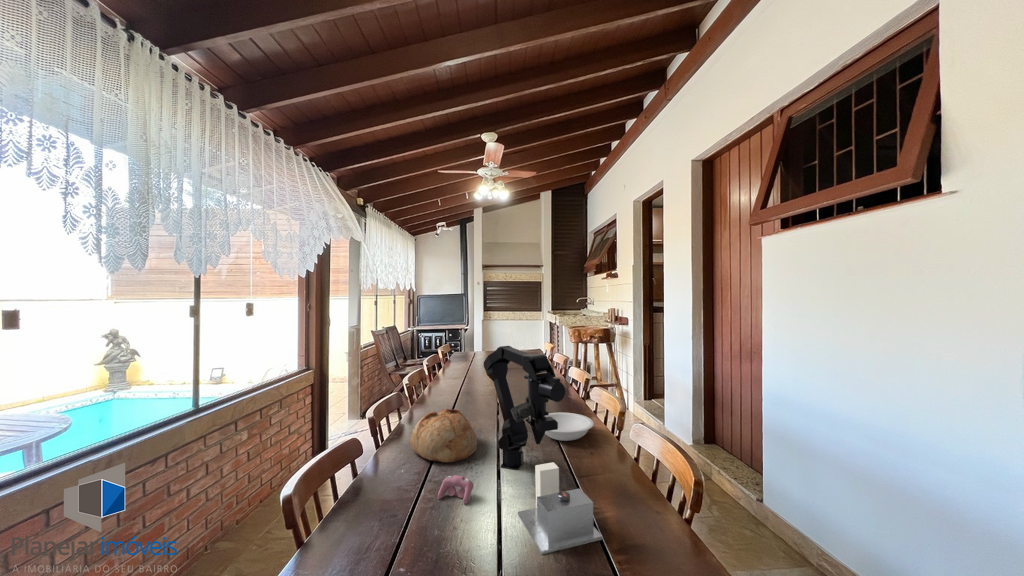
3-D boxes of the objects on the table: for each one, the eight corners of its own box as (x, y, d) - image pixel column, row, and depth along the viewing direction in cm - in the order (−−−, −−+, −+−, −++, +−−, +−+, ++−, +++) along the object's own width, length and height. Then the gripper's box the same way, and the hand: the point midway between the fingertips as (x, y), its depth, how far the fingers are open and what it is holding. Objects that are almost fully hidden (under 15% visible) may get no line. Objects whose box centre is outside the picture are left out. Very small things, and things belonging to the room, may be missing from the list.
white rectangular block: (535, 507, 103) (535, 465, 104) (554, 503, 105) (553, 462, 105) (550, 528, 94) (549, 482, 94) (570, 523, 96) (569, 478, 96)
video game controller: (472, 504, 110) (476, 478, 113) (466, 505, 106) (470, 477, 109) (442, 499, 113) (447, 473, 116) (435, 499, 109) (440, 472, 112)
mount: (517, 514, 102) (517, 476, 102) (570, 503, 107) (570, 467, 107) (541, 554, 86) (540, 509, 86) (602, 539, 91) (601, 496, 91)
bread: (488, 455, 139) (487, 415, 140) (428, 473, 126) (427, 428, 127) (456, 434, 161) (456, 399, 162) (403, 447, 148) (402, 408, 149)
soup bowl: (599, 448, 144) (599, 431, 144) (537, 449, 144) (536, 432, 144) (588, 426, 168) (587, 412, 168) (534, 427, 168) (534, 412, 168)
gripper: (504, 390, 126) (505, 436, 126) (523, 405, 109) (524, 459, 108) (535, 387, 130) (536, 432, 129) (558, 401, 112) (559, 454, 112)
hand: (537, 443), depth 120 cm, fingers closed
